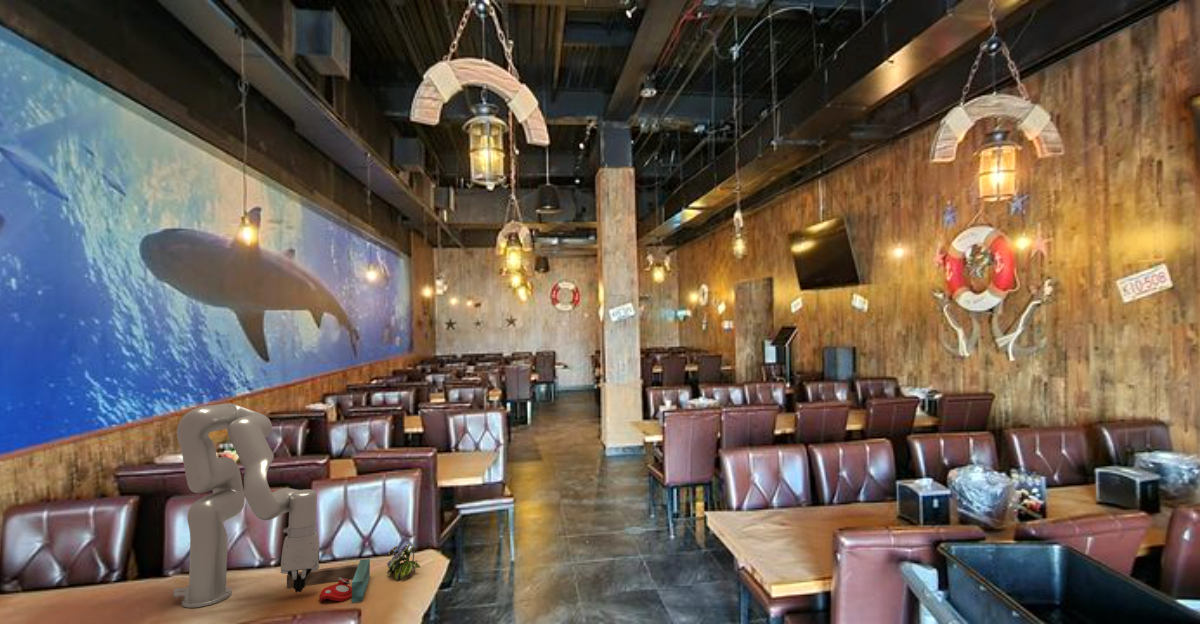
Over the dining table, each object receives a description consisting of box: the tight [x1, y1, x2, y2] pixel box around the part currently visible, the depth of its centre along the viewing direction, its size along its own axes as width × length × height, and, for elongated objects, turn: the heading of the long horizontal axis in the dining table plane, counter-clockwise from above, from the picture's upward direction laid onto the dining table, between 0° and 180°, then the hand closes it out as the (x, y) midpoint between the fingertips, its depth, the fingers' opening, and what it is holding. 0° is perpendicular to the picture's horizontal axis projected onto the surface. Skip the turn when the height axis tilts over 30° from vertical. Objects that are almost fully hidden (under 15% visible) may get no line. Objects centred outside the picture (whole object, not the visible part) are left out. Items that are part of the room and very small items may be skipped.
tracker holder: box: [318, 578, 352, 603], centre depth 167 cm, size 12×4×10 cm
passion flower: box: [386, 543, 421, 581], centre depth 183 cm, size 11×11×12 cm
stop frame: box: [286, 558, 371, 604], centre depth 169 cm, size 25×21×6 cm
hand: (299, 590), depth 168 cm, fingers closed
